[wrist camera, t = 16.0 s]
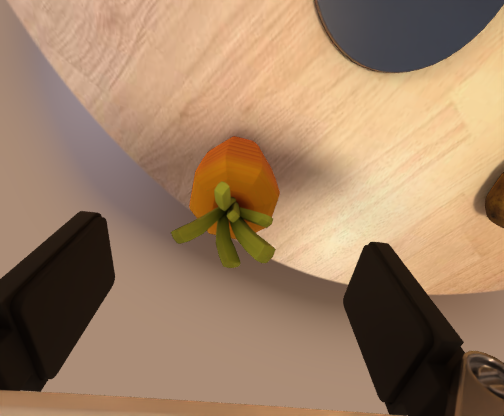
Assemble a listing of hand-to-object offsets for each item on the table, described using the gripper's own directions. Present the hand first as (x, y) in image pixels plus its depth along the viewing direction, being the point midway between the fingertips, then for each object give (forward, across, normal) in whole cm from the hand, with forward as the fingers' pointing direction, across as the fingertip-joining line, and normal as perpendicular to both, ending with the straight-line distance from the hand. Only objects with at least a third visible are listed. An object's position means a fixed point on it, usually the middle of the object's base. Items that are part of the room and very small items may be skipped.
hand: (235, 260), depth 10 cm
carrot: (+16, 0, 0) cm, 16 cm away
